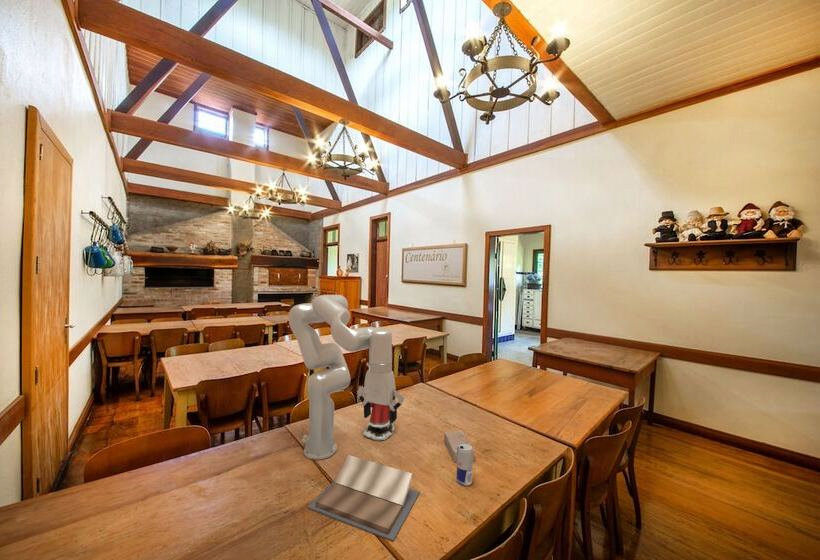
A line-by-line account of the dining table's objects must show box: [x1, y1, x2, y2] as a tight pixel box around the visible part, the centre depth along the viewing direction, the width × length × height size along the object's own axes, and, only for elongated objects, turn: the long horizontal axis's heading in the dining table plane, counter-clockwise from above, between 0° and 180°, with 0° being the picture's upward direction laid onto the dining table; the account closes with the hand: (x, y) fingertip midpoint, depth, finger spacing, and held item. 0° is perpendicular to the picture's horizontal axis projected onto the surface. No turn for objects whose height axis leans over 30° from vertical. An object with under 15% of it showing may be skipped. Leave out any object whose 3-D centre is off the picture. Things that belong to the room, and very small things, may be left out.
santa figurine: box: [363, 399, 398, 442], centre depth 137 cm, size 17×14×25 cm
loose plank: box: [335, 454, 414, 507], centre depth 98 cm, size 24×9×2 cm
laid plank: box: [316, 483, 402, 534], centre depth 90 cm, size 24×9×2 cm, turn 68°
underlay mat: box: [307, 477, 421, 542], centre depth 94 cm, size 28×20×1 cm
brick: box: [443, 429, 476, 464], centre depth 123 cm, size 16×8×5 cm, turn 8°
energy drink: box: [455, 443, 474, 487], centre depth 105 cm, size 5×5×12 cm
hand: (379, 419), depth 101 cm, fingers open, 9 cm apart
